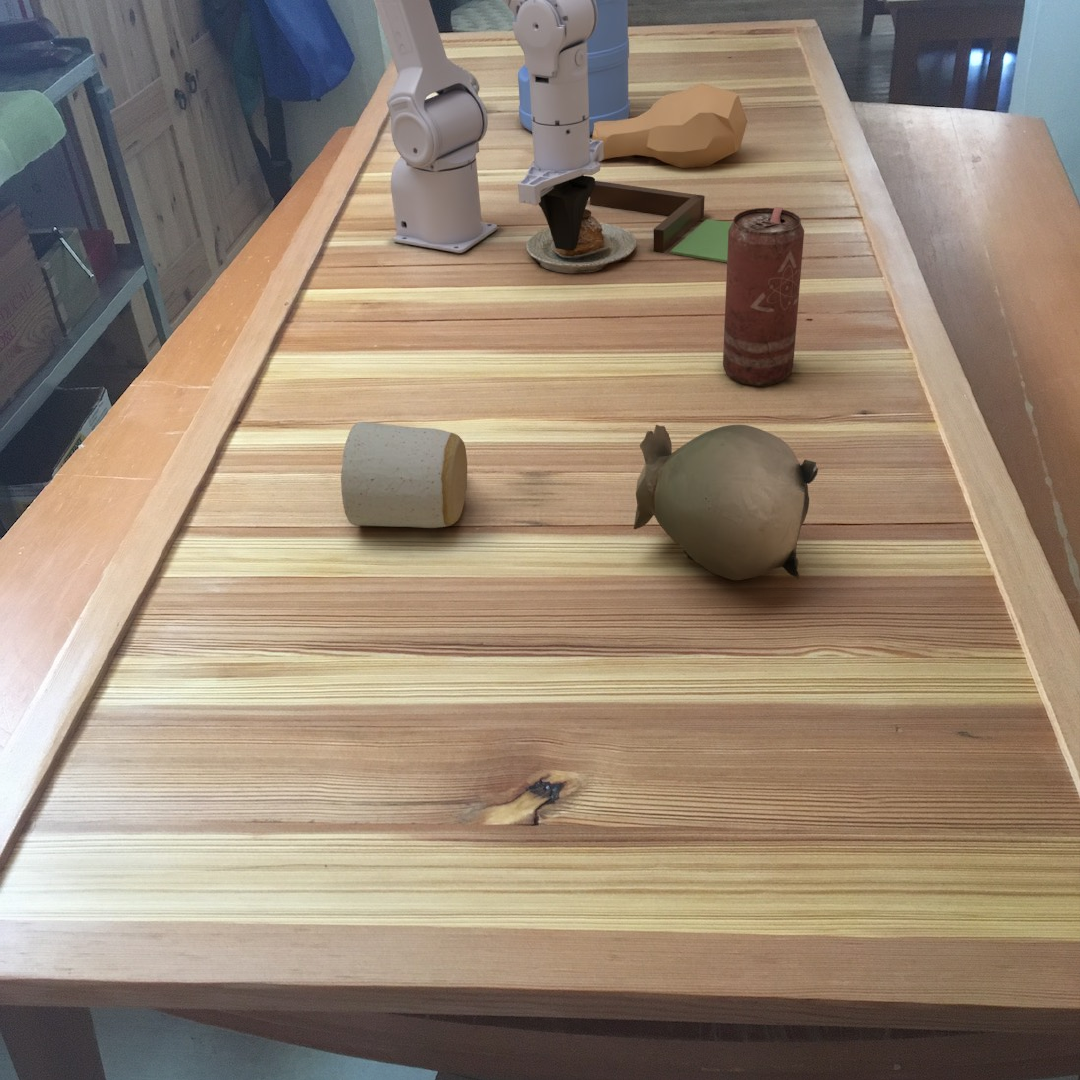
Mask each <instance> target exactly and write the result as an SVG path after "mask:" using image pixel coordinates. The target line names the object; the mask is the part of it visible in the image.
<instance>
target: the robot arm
mask: <svg viewBox="0 0 1080 1080" xmlns="http://www.w3.org/2000/svg"><path fill="white" fill-rule="evenodd" d="M503 2H504V4H505V5H506V6H507V7H508V9H509V10H510V11H511V13H512V14H513V16H514V15H515V17H516V18H517V20H515V21H512V31H513V34H514V37H515V40H516V42H517V44H518V45H519V47H520V48H521V50H522V52H523V56H524V65H525V68H527V69H528V73H529V81H530V98H531V115H532V132H531V133H532V134H531V135H532V149H533V151H532V152H533V161H532V162H531V164H530V166H529V168H528V170H527V172H526V174H525V176H524V177H523V179H522V180H521V181H519V182H518V183H517V191H518V202H519V203H522V204H528V205H535V206H536V205H539V207H540V209H541V211H542V213H543V215H544V218H545V220H546V222H547V225H548V227H549V228H550V232H551V235H552V238H553V241H554V244H555V247H556V248H557V249H563V250H569V251H572V250H574V249H575V248H576V246H577V242H578V238H579V233H580V227H581V223H582V218H583V214H584V211H585V209H586V207H587V204H588V201H589V200H590V195H591V193H592V191H593V189H594V187H595V181H596V178H595V177H593V176H594V175H596V174H597V173H598V172H600V171H601V163H600V162H602V161H604V160H603V159H604V154H603V141H597V140H592V139H590V138H591V136H589V100H588V65H587V42H584V41H586V40H588V39H589V38H590V37H591V36H592V35H593V33H594V31H595V29H596V26H597V22H598V9H597V5H596V1H595V0H503ZM373 3H374V6H375V8H376V12H377V15H378V18H379V21H380V25H381V28H382V30H383V34H384V36H385V39H386V43H387V46H388V48H389V51H390V56H391V58H392V60H393V61H392V62H393V63H394V66H395V70H396V72H397V73H396V74H397V77H396V80H395V81H394V84H393V85H392V87H391V89H390V92H389V94H388V95H387V98H386V105H387V108H388V111H389V114H390V131H391V132H390V133H391V138H392V142H393V146H394V147H395V150H396V151H397V153H398V155H400V157H399V158H398V159H397V160H396V162H395V164H394V165H393V168H392V171H391V175H390V193H391V200H392V208H393V214H394V216H393V217H394V222H395V229H396V235H394V236H393V237H392V241H393V242H395V243H400V244H405V245H411V246H417V247H423V248H429V249H434V250H438V251H439V250H440V251H445V252H451V253H457V254H463V253H465V252H467V251H468V250H469V249H471V248H472V247H474V246H475V245H476V244H478V243H480V242H481V241H482V240H484V239H485V238H487V237H488V236H490V235H491V234H493V233H494V232H496V231H497V230H498V224H496V223H489V222H483V221H482V209H481V197H480V187H479V175H478V164H477V163H478V162H477V154H478V153H480V144H479V143H480V142H481V141H482V140H483V139H484V138H485V136H486V133H487V130H488V123H489V122H488V121H489V120H488V119H489V118H488V113H487V109H486V107H485V105H484V102H483V101H482V99H481V97H480V96H479V94H478V95H477V93H476V92H475V91H474V89H473V87H472V85H471V82H470V79H469V76H468V73H467V72H466V71H467V70H466V69H464V68H463V69H464V70H463V69H462V68H460V67H459V66H460V65H459V66H457V65H458V64H456V63H454V62H452V61H451V60H450V59H448V57H447V56H448V55H447V53H446V51H445V47H444V44H443V41H442V38H441V34H440V30H439V28H438V24H437V21H436V18H435V15H434V13H433V8H432V5H431V2H430V0H373ZM465 70H466V71H465ZM434 93H436V95H434V96H432V97H429V96H430V95H431V94H434ZM428 97H429V98H428Z"/></svg>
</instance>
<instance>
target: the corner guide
mask: <svg viewBox="0 0 1080 1080" xmlns="http://www.w3.org/2000/svg"><path fill="white" fill-rule="evenodd" d="M705 198H706V197H705V195H703V194H696V193H695V194H694V193H688V192H680V191H672V190H666V189H658V188H652V187H651V188H650V187H644V186H637V185H629V184H622V183H615V182H607V181H600V180H595V187H594V189H593V191H592V193H591V195H590V197H589V205H592V206H600V207H606V208H614V209H620V210H621V209H622V210H628V211H634V212H640V213H641V212H642V213H648V214H655V215H661V216H667V217H666V218H665V219H664V220H663V221H661V222H660V223H659V224H658V225H656V226H655V227H654V228H653V248H652V249H653V252H659V253H665V252H666V251H667V250H668V249H669V248H670V247H671V246H672V245H674V244H675V243H676V242H677V241H678V240H679V239H681V238H682V237H683V236H684V235H686V233H687V232H688V231H690V230H691V229H692V228H693V227H694V226H695V225H696V224H697V223H699V222H700V221H701V220H702V219H703V218H704V217H705Z"/></svg>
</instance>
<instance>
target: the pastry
mask: <svg viewBox="0 0 1080 1080" xmlns="http://www.w3.org/2000/svg"><path fill="white" fill-rule="evenodd" d="M636 246H637V238H636V237H635V235H634V234H633V233H631V232H630V231H628V230H626V228H623V227H620V226H617V225H614V224H611V223H606V222H599V221H598V220H597V219H596V218H595V217H594V215H592V211H591V210H589V209H586V208H585V211H584V214H583V218H582V223H581V227H580V233H579V238H578V242H577V246H576V248H575V249H574V250H572V251H569V250H563V249H557V248H556V247H555V244H554V241H553V238H552V235H551V232H550V228H549V226H548V227H546V228H543V229H541V230H540V231H537V232H536V233H535V234H533V235H531V236H530V237H529V239H528V241H527V242H526V244H525V248H526V251H527V252H528V254H529V255H530V256H531V257H532V258H534V259H535V261H536V262H538V263H539V264H540V267H542V268H543V269H545V270H549V271H552V272H557V273H564V274H578V273H579V274H580V273H591V272H592V273H594V272H598V271H601V270H603V269H604V268H605V266H607V264H610V263H619V262H620V261H624V260H625V259H626V258H627V257H629V256H630V254H632V252H633V251H634V250H635V249H636V248H637V247H636Z"/></svg>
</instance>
